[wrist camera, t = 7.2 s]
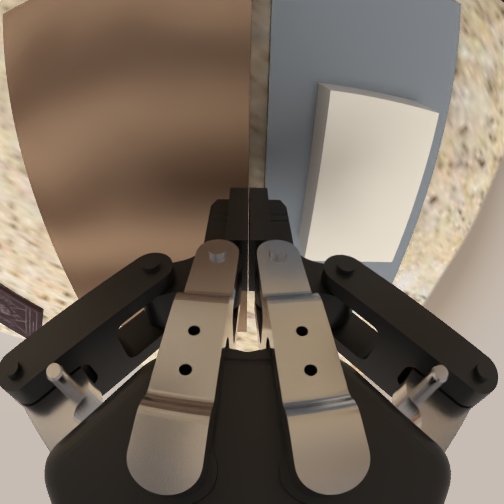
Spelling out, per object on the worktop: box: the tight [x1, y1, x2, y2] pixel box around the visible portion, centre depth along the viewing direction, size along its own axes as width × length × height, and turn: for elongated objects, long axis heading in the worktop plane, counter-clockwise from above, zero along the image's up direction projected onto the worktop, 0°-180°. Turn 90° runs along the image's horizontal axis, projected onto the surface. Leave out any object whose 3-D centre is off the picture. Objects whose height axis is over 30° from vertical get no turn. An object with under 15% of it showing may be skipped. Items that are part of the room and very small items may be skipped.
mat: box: [264, 0, 461, 284], centre depth 17 cm, size 24×11×1 cm, turn 179°
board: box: [3, 0, 252, 332], centre depth 15 cm, size 22×12×4 cm, turn 179°
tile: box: [299, 83, 439, 262], centre depth 16 cm, size 10×6×2 cm, turn 178°
